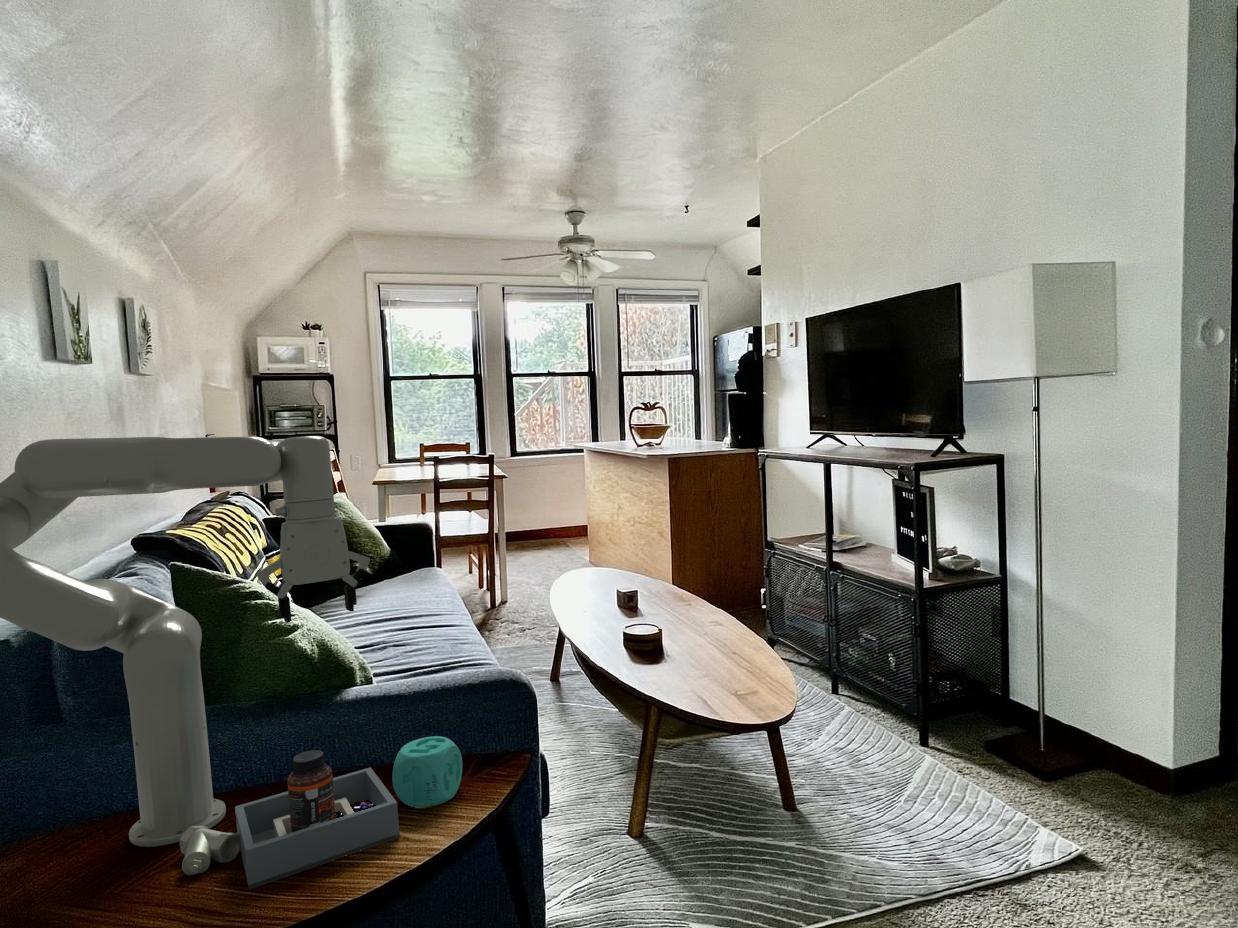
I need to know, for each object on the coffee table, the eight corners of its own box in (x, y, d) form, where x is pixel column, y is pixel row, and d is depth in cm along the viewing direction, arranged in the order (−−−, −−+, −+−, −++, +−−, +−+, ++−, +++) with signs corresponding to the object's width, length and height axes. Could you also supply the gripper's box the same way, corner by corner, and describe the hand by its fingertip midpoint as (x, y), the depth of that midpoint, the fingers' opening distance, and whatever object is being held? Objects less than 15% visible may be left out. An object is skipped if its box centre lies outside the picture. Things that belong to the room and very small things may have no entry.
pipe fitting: (199, 885, 96) (243, 853, 102) (194, 857, 96) (239, 827, 102) (158, 874, 100) (204, 844, 106) (153, 847, 99) (199, 819, 105)
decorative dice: (393, 808, 112) (389, 756, 112) (419, 783, 120) (415, 735, 120) (442, 810, 111) (437, 757, 110) (464, 785, 118) (460, 736, 118)
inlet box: (238, 840, 106) (234, 806, 106) (373, 798, 116) (370, 767, 116) (249, 889, 93) (245, 850, 93) (400, 837, 103) (396, 802, 103)
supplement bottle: (327, 843, 102) (320, 762, 102) (284, 847, 102) (277, 766, 101) (343, 821, 108) (336, 745, 107) (302, 825, 108) (295, 748, 107)
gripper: (254, 518, 113) (264, 629, 113) (370, 506, 122) (378, 609, 123) (249, 517, 119) (258, 621, 120) (359, 505, 129) (367, 603, 129)
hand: (319, 615), depth 121 cm, fingers open, 9 cm apart
